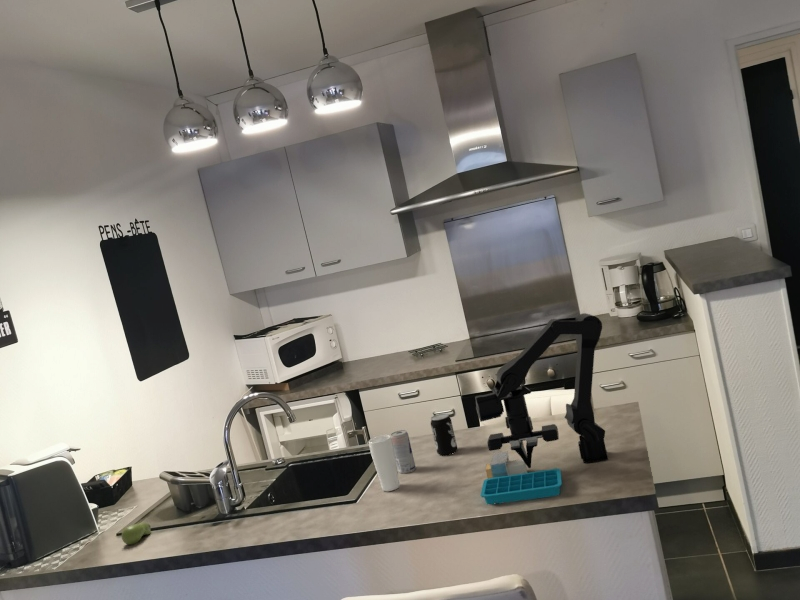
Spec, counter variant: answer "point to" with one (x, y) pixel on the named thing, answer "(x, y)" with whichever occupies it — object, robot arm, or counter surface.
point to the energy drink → (403, 451)
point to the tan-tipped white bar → (510, 468)
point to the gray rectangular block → (499, 464)
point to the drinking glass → (385, 461)
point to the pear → (135, 533)
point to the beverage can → (443, 434)
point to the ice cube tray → (522, 486)
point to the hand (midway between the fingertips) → (529, 467)
